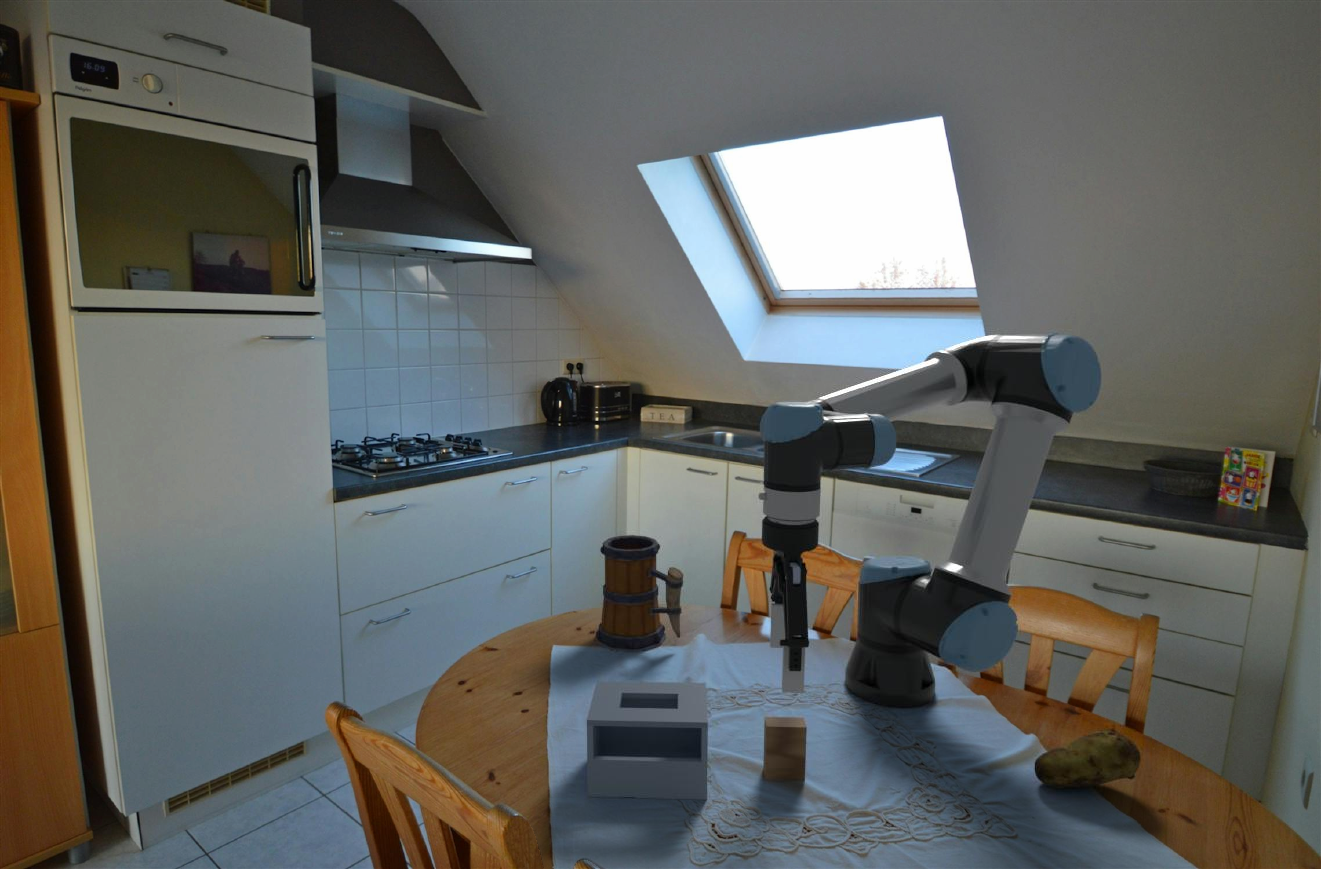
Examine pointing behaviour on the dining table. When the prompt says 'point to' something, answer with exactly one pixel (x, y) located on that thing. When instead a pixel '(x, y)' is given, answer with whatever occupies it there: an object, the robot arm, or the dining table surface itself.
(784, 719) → the brown wooden block
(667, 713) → the coin box
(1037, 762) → the potato
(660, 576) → the mug
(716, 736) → the dining table surface
